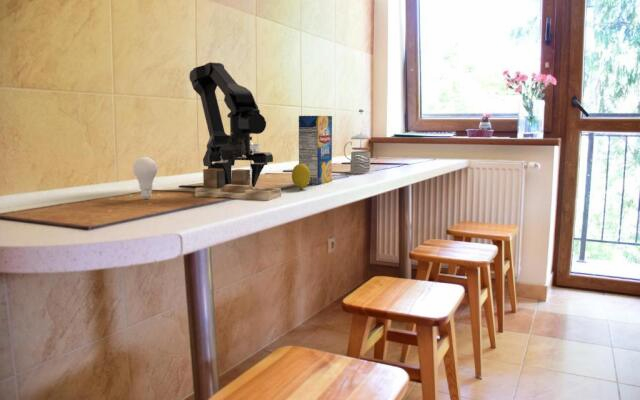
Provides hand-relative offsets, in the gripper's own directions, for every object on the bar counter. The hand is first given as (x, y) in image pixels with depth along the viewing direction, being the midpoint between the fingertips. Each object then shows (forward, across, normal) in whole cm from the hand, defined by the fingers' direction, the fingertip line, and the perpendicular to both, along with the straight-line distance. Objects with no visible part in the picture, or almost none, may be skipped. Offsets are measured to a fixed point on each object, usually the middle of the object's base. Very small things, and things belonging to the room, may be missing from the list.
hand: (241, 186), depth 163 cm
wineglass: (+1, -14, +34) cm, 37 cm away
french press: (+1, +17, +67) cm, 69 cm away
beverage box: (+1, +14, +26) cm, 30 cm away
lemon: (+1, +16, +8) cm, 18 cm away
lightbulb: (+1, -14, -26) cm, 30 cm away
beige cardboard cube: (+1, 0, 0) cm, 1 cm away
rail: (+1, +6, -13) cm, 14 cm away
